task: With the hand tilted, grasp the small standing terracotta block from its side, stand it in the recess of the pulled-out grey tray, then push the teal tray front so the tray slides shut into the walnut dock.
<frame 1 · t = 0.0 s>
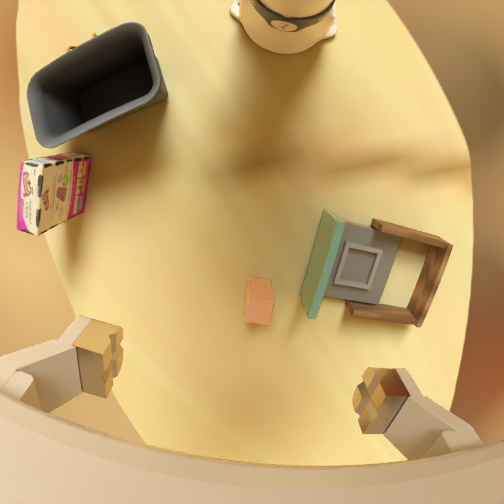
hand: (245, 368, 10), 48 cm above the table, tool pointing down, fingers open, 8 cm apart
candy bar box: (77, 182, 55), on the table
storage bin: (119, 90, 49), on the table
dock: (393, 269, 61), on the table
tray: (358, 270, 56), point 5 cm above the table, slide at 8.0 cm
terracotta block: (257, 288, 62), on the table
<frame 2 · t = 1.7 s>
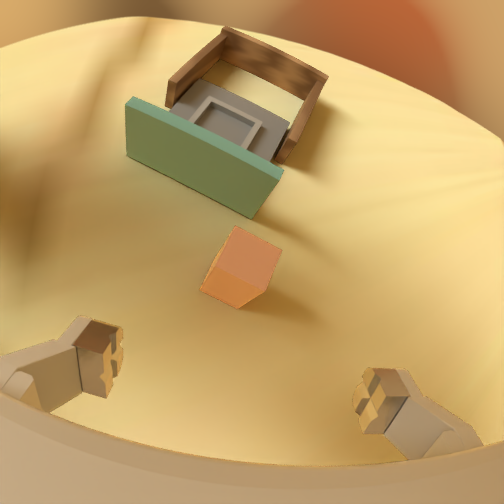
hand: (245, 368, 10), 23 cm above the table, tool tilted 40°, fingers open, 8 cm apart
dock: (245, 100, 44), on the table
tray: (224, 117, 36), point 5 cm above the table, slide at 8.0 cm
terracotta block: (225, 283, 35), on the table
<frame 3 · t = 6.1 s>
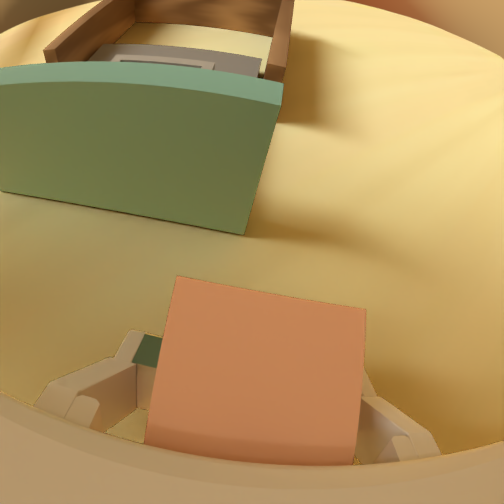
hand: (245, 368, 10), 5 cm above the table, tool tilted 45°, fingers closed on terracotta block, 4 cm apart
dock: (182, 53, 25), on the table
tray: (139, 64, 17), point 5 cm above the table, slide at 8.0 cm
terracotta block: (228, 390, 14), on the table, touching gripper
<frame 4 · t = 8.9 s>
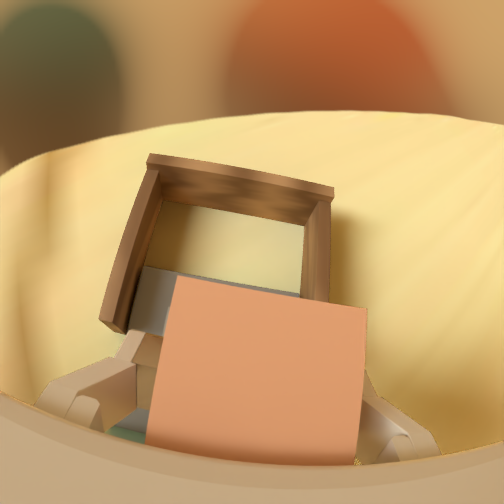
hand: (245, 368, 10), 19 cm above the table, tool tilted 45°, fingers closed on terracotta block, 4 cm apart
dock: (222, 270, 32), on the table
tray: (206, 365, 23), point 5 cm above the table, slide at 8.0 cm
terracotta block: (228, 390, 14), point 14 cm above the table, touching gripper
when the fingers open (8 cm above the table, at t = 11.7 s): terracotta block stays where it is, resting on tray.
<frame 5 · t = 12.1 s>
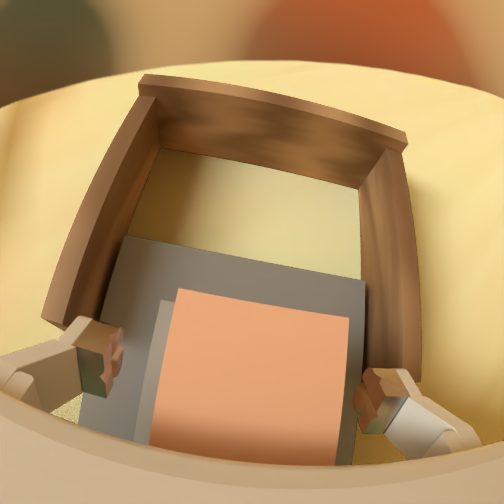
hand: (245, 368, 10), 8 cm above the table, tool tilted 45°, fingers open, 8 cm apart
dock: (248, 246, 21), on the table
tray: (230, 405, 12), point 5 cm above the table, slide at 8.0 cm, touching terracotta block
terracotta block: (226, 389, 15), point 2 cm above the table, touching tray
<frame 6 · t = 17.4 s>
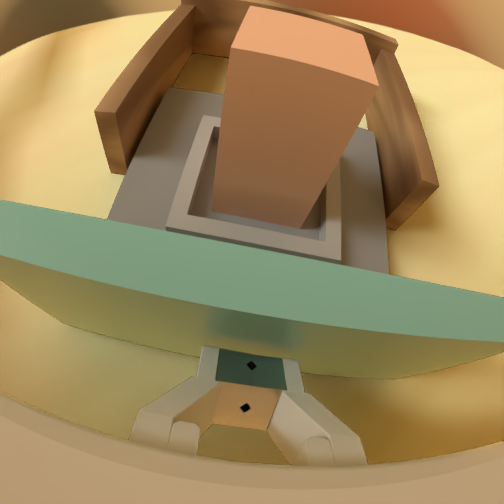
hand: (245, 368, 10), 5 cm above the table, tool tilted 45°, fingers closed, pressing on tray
dock: (271, 112, 22), on the table
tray: (272, 160, 14), point 5 cm above the table, slide at 7.5 cm, touching gripper, terracotta block
terracotta block: (260, 188, 17), point 2 cm above the table, touching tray
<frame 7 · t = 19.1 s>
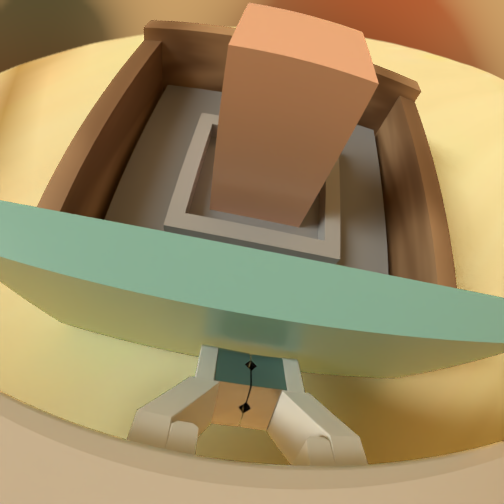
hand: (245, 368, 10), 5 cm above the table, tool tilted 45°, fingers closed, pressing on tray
dock: (257, 190, 19), on the table
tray: (270, 158, 14), point 5 cm above the table, slide at -0.1 cm, touching gripper, terracotta block
terracotta block: (259, 186, 17), point 2 cm above the table, touching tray
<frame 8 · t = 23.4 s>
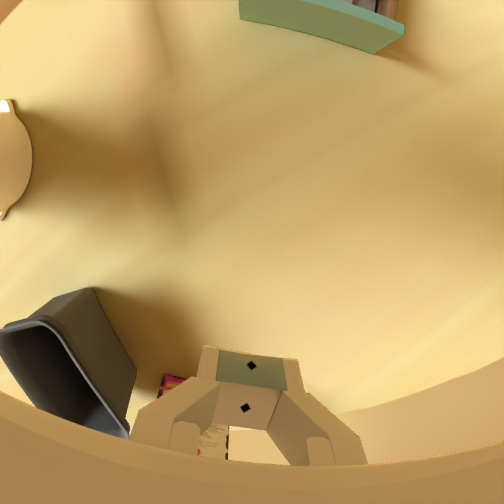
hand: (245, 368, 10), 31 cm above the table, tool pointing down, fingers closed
candy bar box: (195, 390, 49), on the table
storage bin: (91, 337, 46), on the table
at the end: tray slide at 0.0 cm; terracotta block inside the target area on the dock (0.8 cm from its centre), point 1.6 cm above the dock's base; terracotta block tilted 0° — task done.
